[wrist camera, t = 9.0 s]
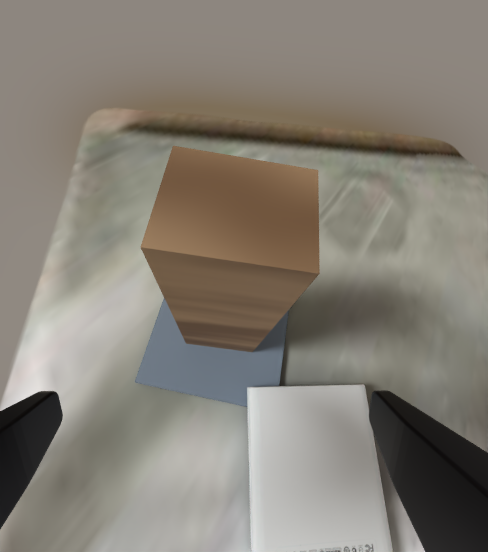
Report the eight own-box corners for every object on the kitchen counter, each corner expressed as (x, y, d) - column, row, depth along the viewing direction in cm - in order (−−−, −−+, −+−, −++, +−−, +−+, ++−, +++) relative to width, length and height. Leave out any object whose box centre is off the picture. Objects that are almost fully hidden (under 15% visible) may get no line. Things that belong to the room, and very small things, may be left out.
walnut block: (252, 352, 20) (319, 273, 8) (185, 343, 20) (140, 246, 7) (256, 302, 22) (318, 170, 9) (195, 293, 22) (172, 145, 9)
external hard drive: (355, 384, 20) (392, 617, 15) (246, 386, 19) (251, 635, 14) (366, 384, 18) (412, 642, 14) (248, 387, 18) (255, 664, 13)
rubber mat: (274, 412, 19) (275, 413, 19) (136, 382, 19) (134, 382, 18) (292, 276, 24) (293, 274, 23) (181, 251, 24) (181, 248, 23)
